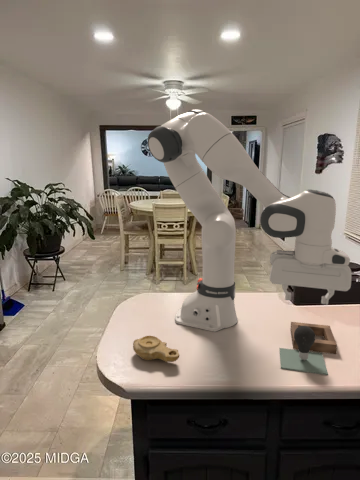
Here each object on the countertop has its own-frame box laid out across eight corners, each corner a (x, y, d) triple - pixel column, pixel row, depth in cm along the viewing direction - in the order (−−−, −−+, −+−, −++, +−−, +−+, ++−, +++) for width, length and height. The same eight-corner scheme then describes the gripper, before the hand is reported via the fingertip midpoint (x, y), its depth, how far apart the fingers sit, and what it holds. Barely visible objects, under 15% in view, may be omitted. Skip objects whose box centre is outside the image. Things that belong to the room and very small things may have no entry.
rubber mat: (280, 368, 90) (280, 367, 89) (279, 348, 99) (279, 347, 99) (328, 375, 87) (328, 373, 86) (322, 354, 96) (322, 353, 96)
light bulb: (289, 355, 95) (291, 322, 94) (308, 354, 95) (310, 322, 94) (297, 365, 90) (299, 330, 88) (317, 364, 90) (319, 330, 88)
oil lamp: (178, 369, 90) (178, 353, 88) (127, 367, 91) (126, 351, 90) (181, 348, 100) (181, 333, 99) (135, 346, 101) (135, 332, 100)
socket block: (293, 348, 99) (293, 339, 98) (290, 329, 110) (290, 321, 110) (336, 354, 96) (337, 345, 95) (328, 334, 107) (329, 325, 107)
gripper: (271, 252, 85) (266, 301, 88) (357, 259, 80) (348, 311, 84) (270, 246, 91) (266, 292, 94) (350, 252, 86) (343, 301, 90)
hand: (305, 301), depth 89 cm, fingers open, 8 cm apart
